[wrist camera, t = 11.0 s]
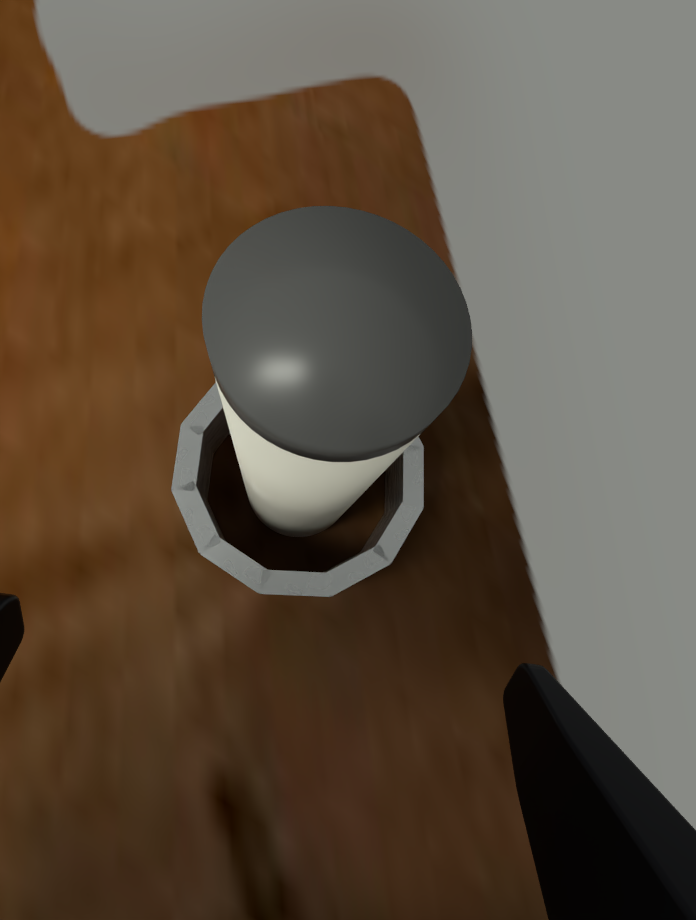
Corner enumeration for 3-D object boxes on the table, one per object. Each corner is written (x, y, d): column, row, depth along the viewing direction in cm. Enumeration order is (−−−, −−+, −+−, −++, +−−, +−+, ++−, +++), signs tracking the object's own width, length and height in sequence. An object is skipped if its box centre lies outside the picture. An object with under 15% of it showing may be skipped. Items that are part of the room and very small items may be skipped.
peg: (295, 559, 19) (337, 508, 7) (224, 481, 19) (140, 296, 7) (370, 489, 20) (522, 338, 8) (302, 417, 21) (348, 166, 8)
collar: (330, 639, 18) (341, 648, 16) (142, 512, 19) (118, 499, 16) (438, 458, 21) (464, 439, 18) (273, 349, 21) (273, 313, 18)
